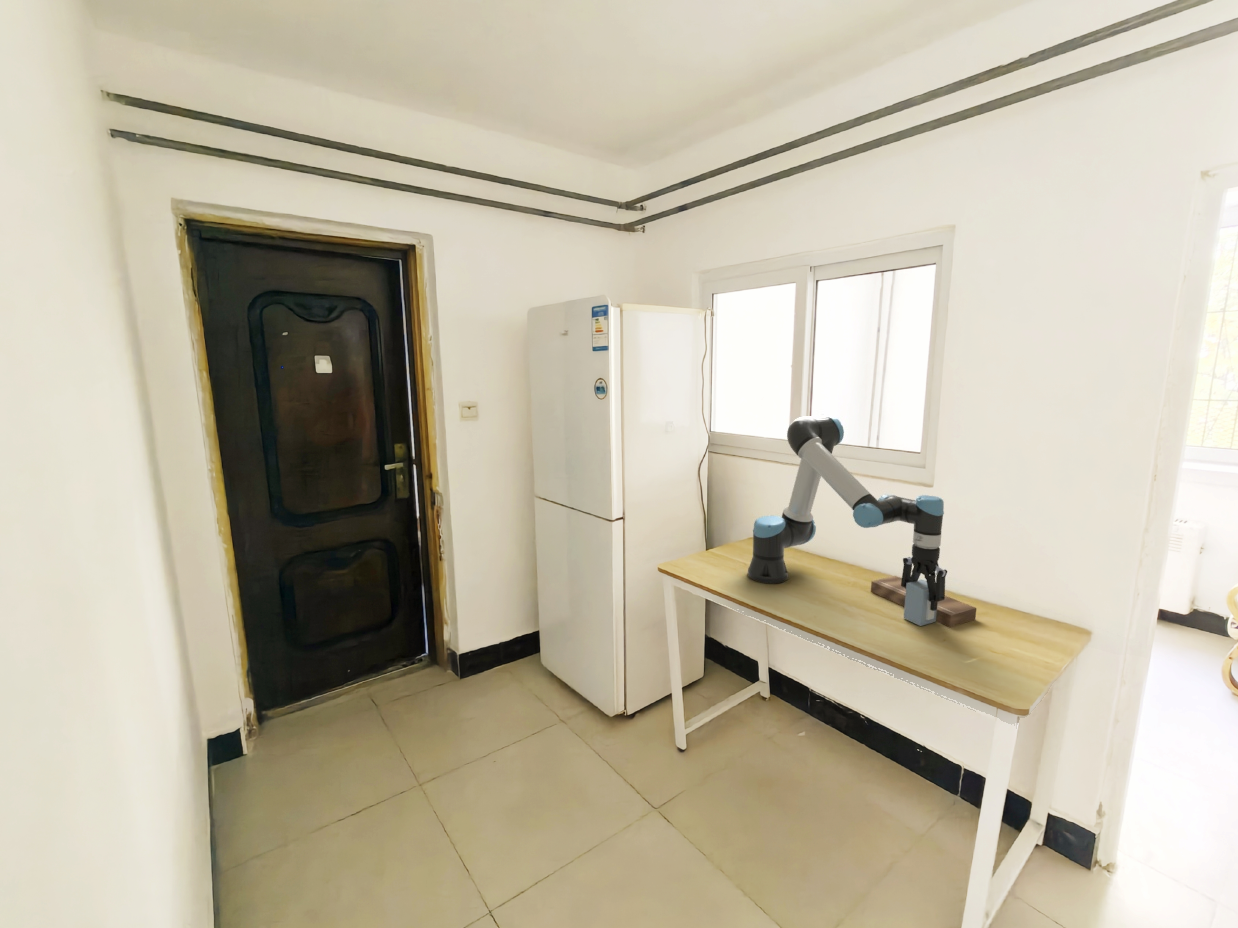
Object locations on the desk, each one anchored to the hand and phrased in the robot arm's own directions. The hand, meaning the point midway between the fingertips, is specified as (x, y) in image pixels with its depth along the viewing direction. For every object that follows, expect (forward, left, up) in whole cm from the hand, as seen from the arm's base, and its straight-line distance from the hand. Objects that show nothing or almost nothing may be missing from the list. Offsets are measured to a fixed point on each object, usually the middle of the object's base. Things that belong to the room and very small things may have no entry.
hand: (920, 614), depth 170 cm
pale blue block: (0, +2, -2) cm, 3 cm away
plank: (-8, +11, -2) cm, 13 cm away
